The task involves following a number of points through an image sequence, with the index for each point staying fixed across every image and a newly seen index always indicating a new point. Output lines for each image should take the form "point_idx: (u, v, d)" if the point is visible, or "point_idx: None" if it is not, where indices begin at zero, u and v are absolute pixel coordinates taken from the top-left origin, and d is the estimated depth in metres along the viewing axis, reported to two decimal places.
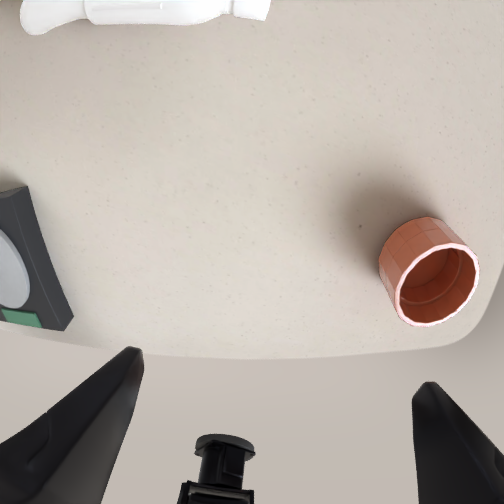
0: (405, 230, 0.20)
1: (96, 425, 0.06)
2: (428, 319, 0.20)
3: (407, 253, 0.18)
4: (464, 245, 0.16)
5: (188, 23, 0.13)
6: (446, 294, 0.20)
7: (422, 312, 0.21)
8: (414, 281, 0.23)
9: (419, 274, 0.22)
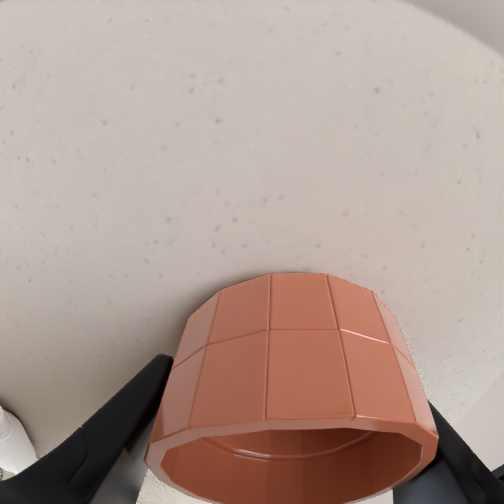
0: None
1: (134, 437, 0.06)
2: (403, 466, 0.06)
3: None
4: (150, 445, 0.05)
5: (21, 447, 0.15)
6: None
7: (395, 443, 0.07)
8: None
9: None
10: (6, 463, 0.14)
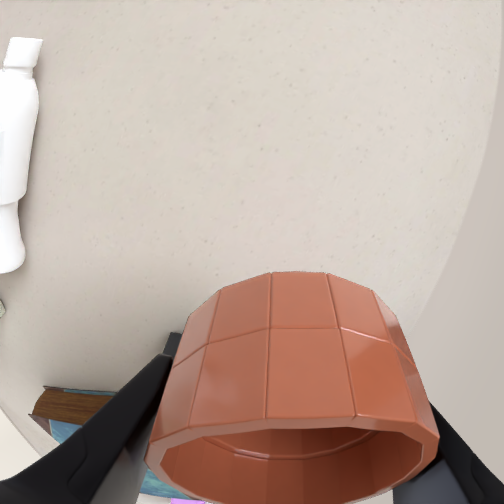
0: None
1: (134, 437, 0.06)
2: (403, 466, 0.06)
3: None
4: (149, 445, 0.05)
5: (28, 107, 0.13)
6: None
7: (396, 443, 0.07)
8: None
9: None
10: None
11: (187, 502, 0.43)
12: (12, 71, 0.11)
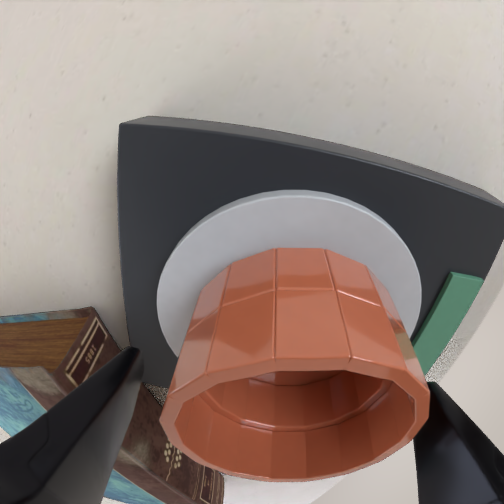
0: None
1: (96, 425, 0.06)
2: (400, 430, 0.07)
3: None
4: (167, 400, 0.06)
5: None
6: None
7: (392, 409, 0.08)
8: None
9: None
10: None
11: None
12: None
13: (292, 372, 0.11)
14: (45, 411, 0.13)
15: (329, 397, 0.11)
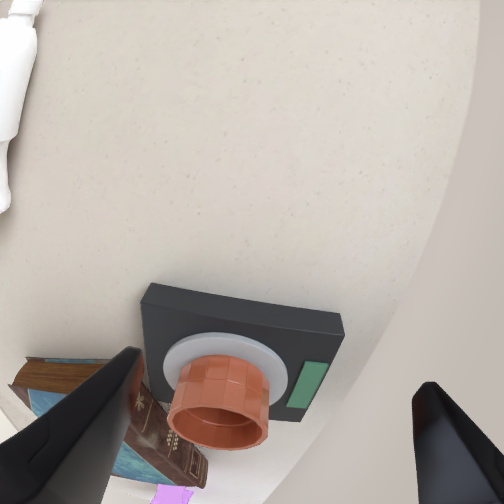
0: None
1: (96, 425, 0.06)
2: (261, 431, 0.19)
3: None
4: (169, 412, 0.18)
5: (27, 50, 0.12)
6: None
7: None
8: None
9: None
10: None
11: (174, 491, 0.42)
12: (15, 18, 0.10)
13: None
14: None
15: None
